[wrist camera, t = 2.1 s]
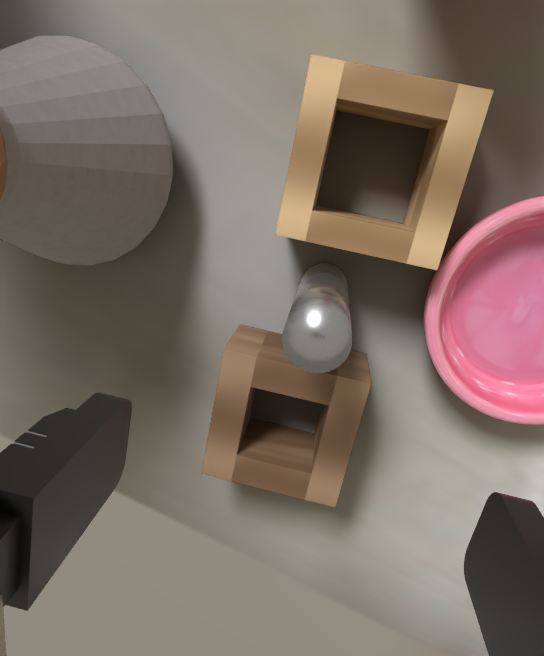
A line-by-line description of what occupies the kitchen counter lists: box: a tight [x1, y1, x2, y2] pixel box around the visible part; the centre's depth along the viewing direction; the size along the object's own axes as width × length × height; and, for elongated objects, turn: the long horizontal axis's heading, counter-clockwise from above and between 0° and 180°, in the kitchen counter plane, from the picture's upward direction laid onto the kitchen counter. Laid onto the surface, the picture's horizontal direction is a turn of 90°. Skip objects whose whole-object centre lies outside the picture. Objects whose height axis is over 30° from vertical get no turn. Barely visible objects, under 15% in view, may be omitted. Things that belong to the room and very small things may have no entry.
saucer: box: [424, 196, 544, 425], centre depth 27 cm, size 12×12×3 cm
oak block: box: [275, 54, 494, 270], centre depth 25 cm, size 8×8×4 cm
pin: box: [282, 263, 352, 373], centre depth 24 cm, size 3×3×10 cm
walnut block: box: [201, 325, 371, 507], centre depth 29 cm, size 8×8×4 cm
